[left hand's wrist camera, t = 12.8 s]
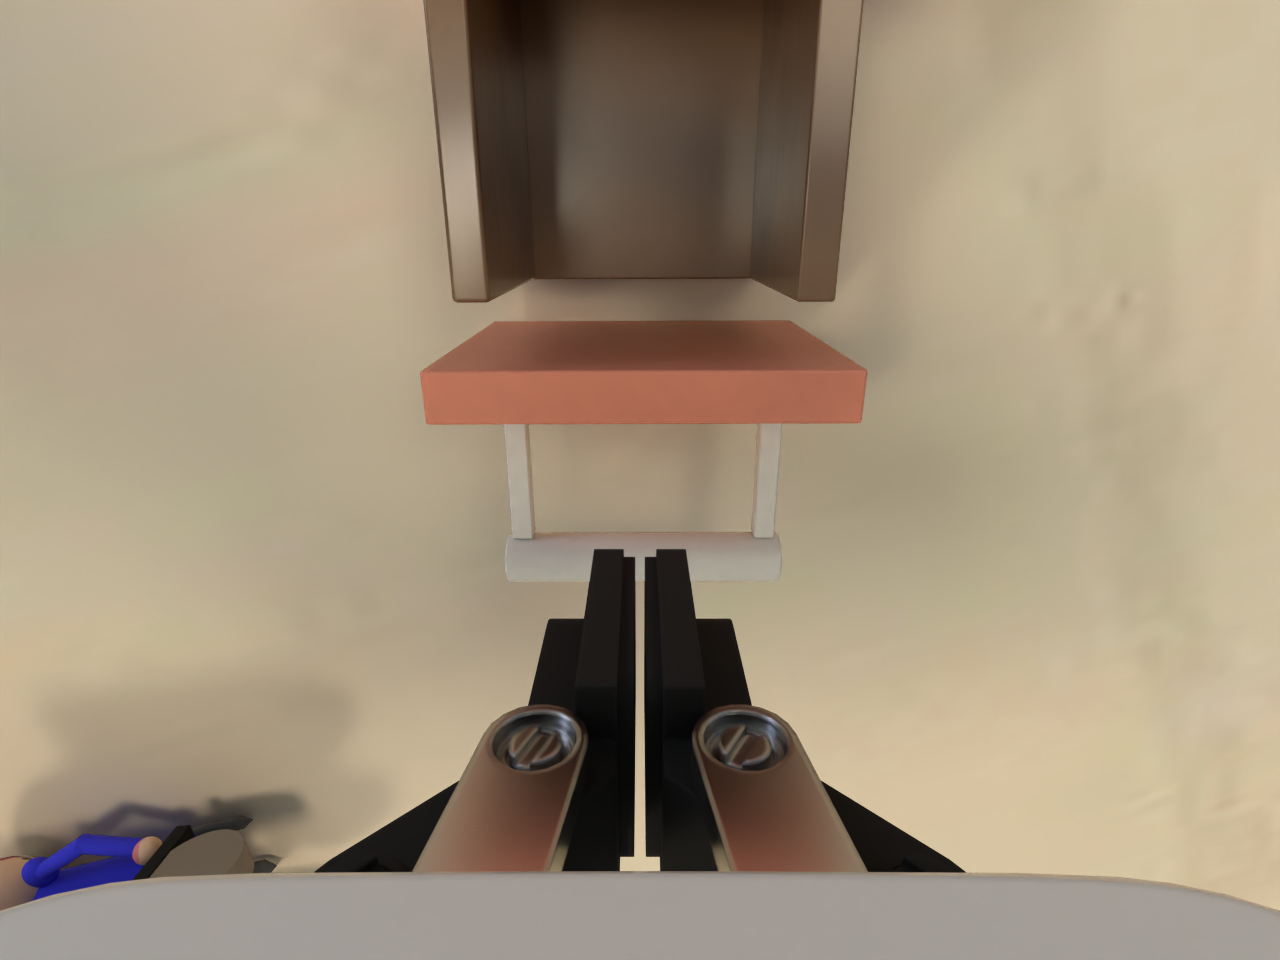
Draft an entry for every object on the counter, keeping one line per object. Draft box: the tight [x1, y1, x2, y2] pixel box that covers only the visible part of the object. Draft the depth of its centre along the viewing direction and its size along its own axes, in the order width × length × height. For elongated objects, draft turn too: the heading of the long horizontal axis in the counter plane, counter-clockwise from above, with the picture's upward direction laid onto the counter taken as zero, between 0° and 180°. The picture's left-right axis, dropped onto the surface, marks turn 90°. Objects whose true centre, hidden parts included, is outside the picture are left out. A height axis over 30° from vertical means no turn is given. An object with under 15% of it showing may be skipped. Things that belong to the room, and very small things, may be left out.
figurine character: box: [0, 816, 277, 911], centre depth 28 cm, size 7×8×15 cm
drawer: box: [420, 0, 867, 582], centre depth 16 cm, size 25×10×8 cm, turn 0°
